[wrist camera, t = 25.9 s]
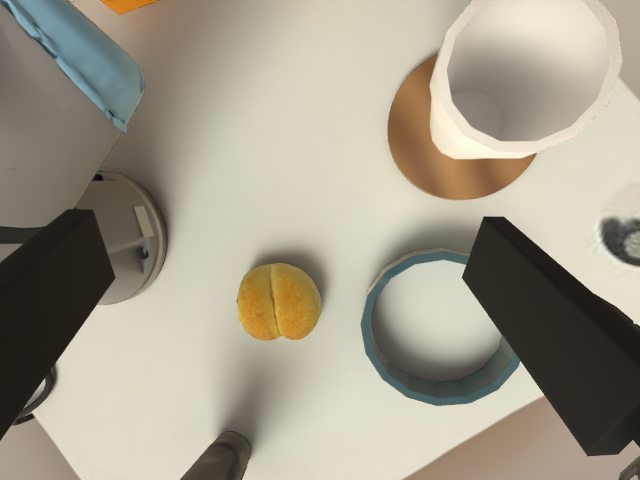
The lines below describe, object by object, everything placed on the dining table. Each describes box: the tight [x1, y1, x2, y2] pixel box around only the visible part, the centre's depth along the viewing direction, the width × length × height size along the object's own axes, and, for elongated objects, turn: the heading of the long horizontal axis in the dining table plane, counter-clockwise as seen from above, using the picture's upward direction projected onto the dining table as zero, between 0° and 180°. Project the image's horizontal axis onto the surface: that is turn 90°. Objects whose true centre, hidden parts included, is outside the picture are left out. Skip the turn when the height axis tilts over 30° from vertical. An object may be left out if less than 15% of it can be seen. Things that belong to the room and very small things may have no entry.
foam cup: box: [430, 0, 622, 159], centre depth 25 cm, size 10×9×13 cm
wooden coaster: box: [388, 55, 537, 200], centre depth 32 cm, size 14×14×1 cm
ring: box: [361, 248, 520, 406], centre depth 33 cm, size 15×15×3 cm
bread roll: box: [237, 263, 322, 340], centre depth 35 cm, size 8×9×4 cm
